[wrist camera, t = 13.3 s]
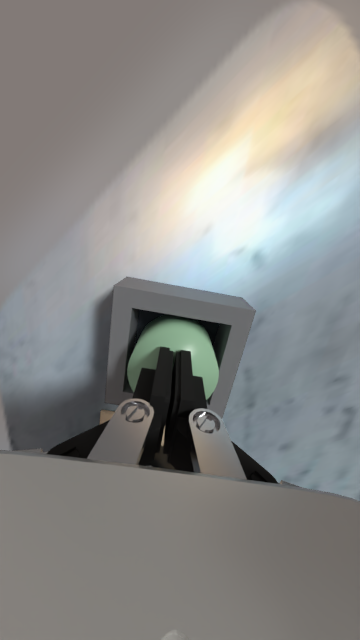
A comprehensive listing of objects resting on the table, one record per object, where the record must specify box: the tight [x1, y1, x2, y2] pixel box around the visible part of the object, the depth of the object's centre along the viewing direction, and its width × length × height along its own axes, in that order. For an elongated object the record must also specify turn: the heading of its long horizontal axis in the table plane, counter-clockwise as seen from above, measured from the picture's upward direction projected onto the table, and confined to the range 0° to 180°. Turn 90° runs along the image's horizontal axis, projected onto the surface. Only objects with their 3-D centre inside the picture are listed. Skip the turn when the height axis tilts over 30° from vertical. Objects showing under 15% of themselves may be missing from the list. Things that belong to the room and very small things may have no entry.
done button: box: [127, 314, 219, 400], centre depth 14 cm, size 5×5×3 cm
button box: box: [105, 277, 256, 419], centre depth 15 cm, size 8×8×3 cm
